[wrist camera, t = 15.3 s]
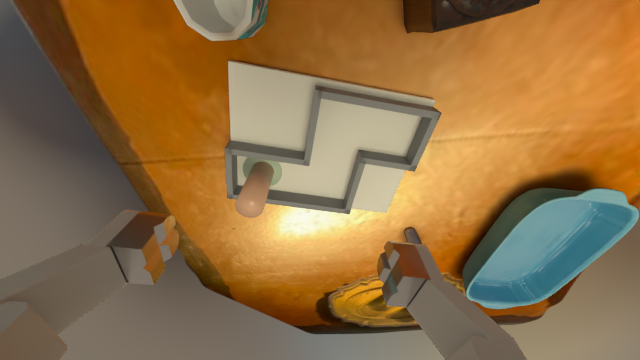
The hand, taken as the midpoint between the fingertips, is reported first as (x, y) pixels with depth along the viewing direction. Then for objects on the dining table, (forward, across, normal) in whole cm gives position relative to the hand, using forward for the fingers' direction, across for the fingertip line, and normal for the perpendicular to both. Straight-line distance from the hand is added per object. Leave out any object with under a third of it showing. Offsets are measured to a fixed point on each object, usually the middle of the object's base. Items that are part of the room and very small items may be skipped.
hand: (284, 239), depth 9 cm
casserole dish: (+32, -53, +25) cm, 67 cm away
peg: (+30, +6, +16) cm, 34 cm away
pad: (+30, +6, +16) cm, 34 cm away
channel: (+31, -4, +10) cm, 33 cm away
